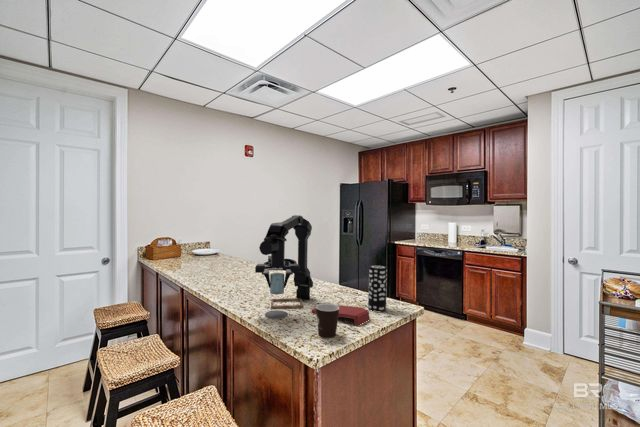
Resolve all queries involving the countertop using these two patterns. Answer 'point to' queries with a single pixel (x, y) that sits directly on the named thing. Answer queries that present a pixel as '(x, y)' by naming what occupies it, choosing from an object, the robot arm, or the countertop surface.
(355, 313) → the carton
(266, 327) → the countertop surface
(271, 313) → the coaster
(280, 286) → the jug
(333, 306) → the coffee mug
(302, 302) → the brown wooden frame
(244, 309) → the countertop surface
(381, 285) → the spotted tube
